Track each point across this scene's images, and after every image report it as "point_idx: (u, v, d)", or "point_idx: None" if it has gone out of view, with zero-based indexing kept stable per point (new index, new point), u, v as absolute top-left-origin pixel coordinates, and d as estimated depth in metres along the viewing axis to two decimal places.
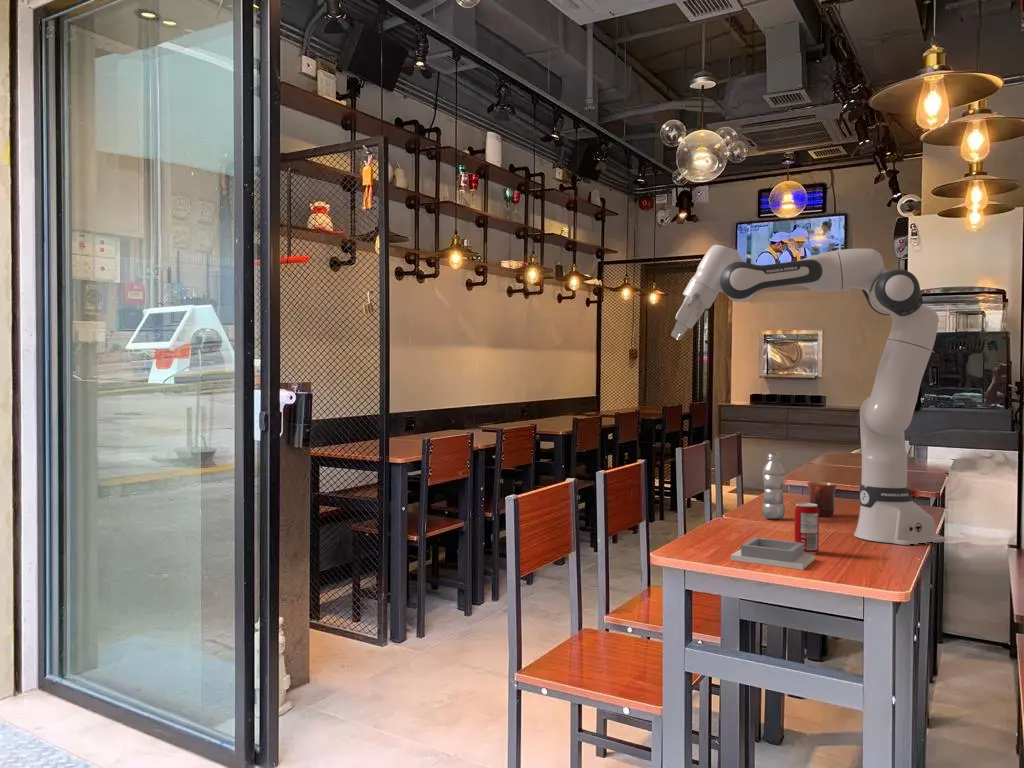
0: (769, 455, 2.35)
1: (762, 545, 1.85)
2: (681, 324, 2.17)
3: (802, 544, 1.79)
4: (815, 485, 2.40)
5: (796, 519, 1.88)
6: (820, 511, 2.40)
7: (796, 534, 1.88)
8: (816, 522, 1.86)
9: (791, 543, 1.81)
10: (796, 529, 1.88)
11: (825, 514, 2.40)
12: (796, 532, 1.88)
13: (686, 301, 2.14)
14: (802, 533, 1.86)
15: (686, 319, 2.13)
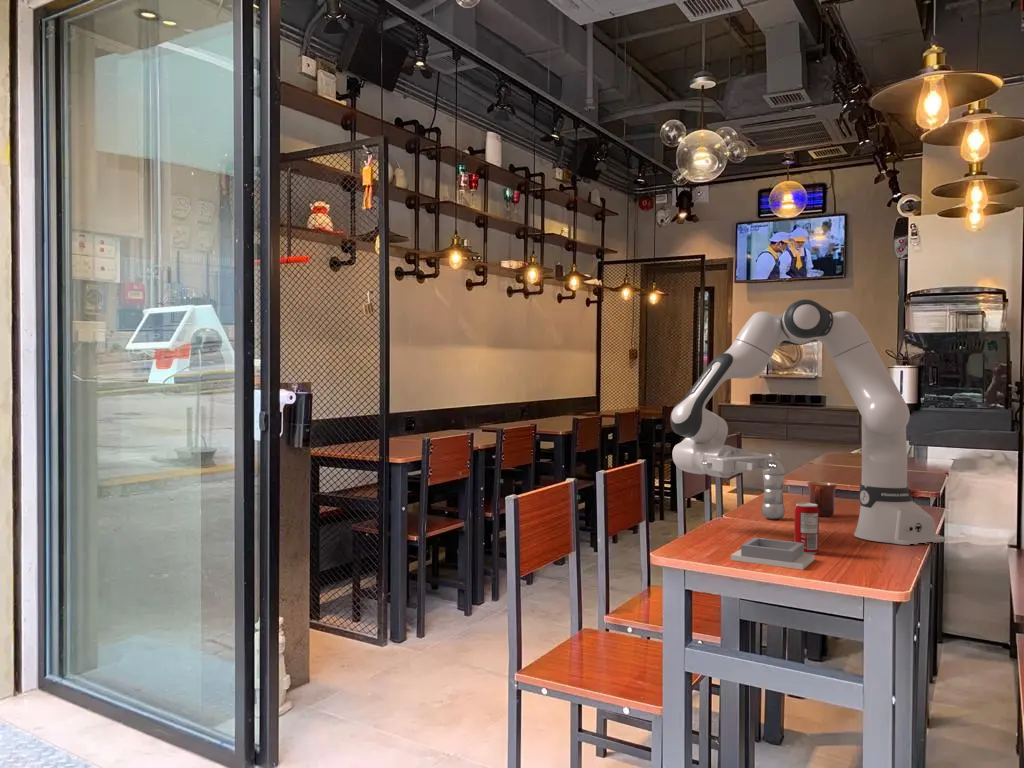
0: None
1: (762, 545, 1.85)
2: (736, 463, 1.98)
3: (802, 544, 1.79)
4: (815, 485, 2.40)
5: (796, 519, 1.88)
6: (820, 511, 2.40)
7: (796, 534, 1.88)
8: (816, 522, 1.86)
9: (791, 543, 1.81)
10: (796, 529, 1.88)
11: (825, 514, 2.40)
12: (796, 532, 1.88)
13: (709, 468, 2.01)
14: (802, 533, 1.86)
15: (721, 460, 1.97)
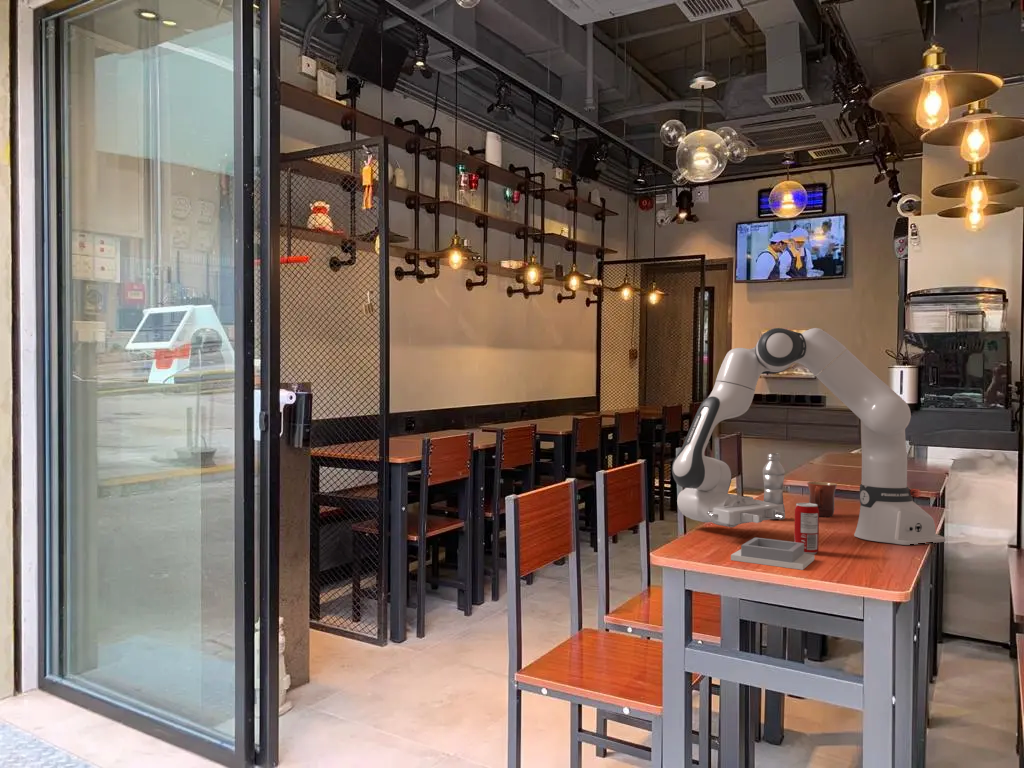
0: (769, 455, 2.35)
1: (762, 545, 1.85)
2: (742, 515, 1.96)
3: (802, 544, 1.79)
4: (815, 485, 2.40)
5: (796, 519, 1.88)
6: (820, 511, 2.40)
7: (796, 534, 1.88)
8: (816, 522, 1.86)
9: (791, 543, 1.81)
10: (796, 529, 1.88)
11: (825, 514, 2.40)
12: (796, 532, 1.88)
13: (715, 519, 1.99)
14: (802, 533, 1.86)
15: (727, 512, 1.96)
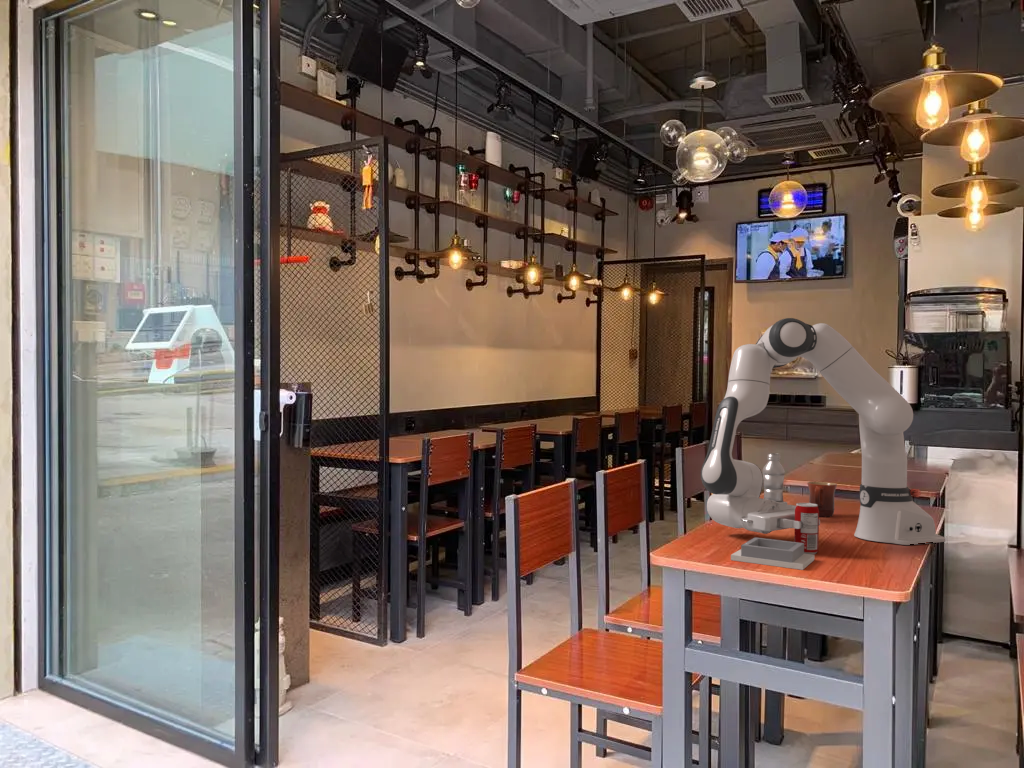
0: (769, 455, 2.35)
1: (762, 545, 1.85)
2: (781, 521, 1.88)
3: (802, 544, 1.79)
4: (815, 485, 2.40)
5: (796, 519, 1.88)
6: (820, 511, 2.40)
7: (796, 534, 1.88)
8: (816, 522, 1.86)
9: (791, 543, 1.81)
10: (796, 529, 1.88)
11: (825, 514, 2.40)
12: (796, 532, 1.88)
13: (750, 525, 1.90)
14: (802, 533, 1.86)
15: (763, 518, 1.87)
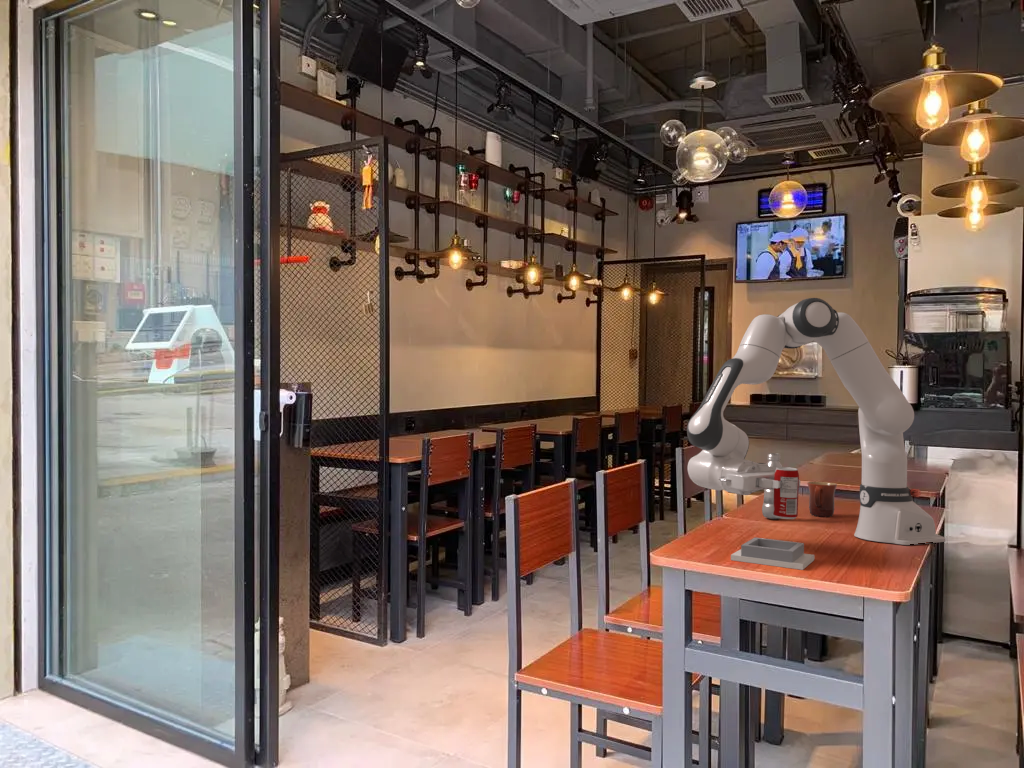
0: (769, 455, 2.35)
1: (762, 545, 1.85)
2: (760, 481, 1.83)
3: (802, 544, 1.79)
4: (815, 485, 2.40)
5: None
6: (820, 511, 2.40)
7: (775, 499, 1.83)
8: (796, 486, 1.81)
9: (791, 543, 1.81)
10: (775, 493, 1.83)
11: (825, 514, 2.40)
12: (775, 497, 1.83)
13: (728, 485, 1.86)
14: (781, 497, 1.81)
15: (742, 477, 1.82)
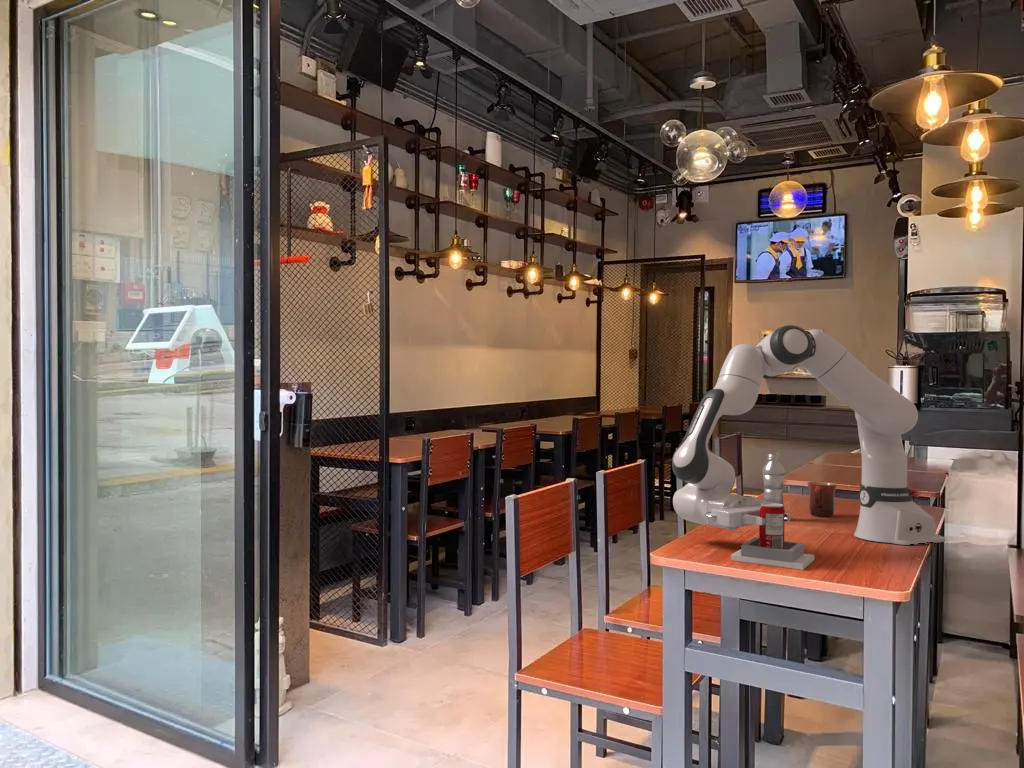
0: (769, 455, 2.35)
1: None
2: (743, 517, 1.78)
3: (802, 544, 1.79)
4: (815, 485, 2.40)
5: None
6: (820, 511, 2.40)
7: (761, 536, 1.78)
8: (782, 523, 1.77)
9: (791, 543, 1.81)
10: (761, 531, 1.78)
11: (825, 514, 2.40)
12: (761, 534, 1.78)
13: (714, 521, 1.81)
14: (767, 535, 1.77)
15: (727, 513, 1.77)
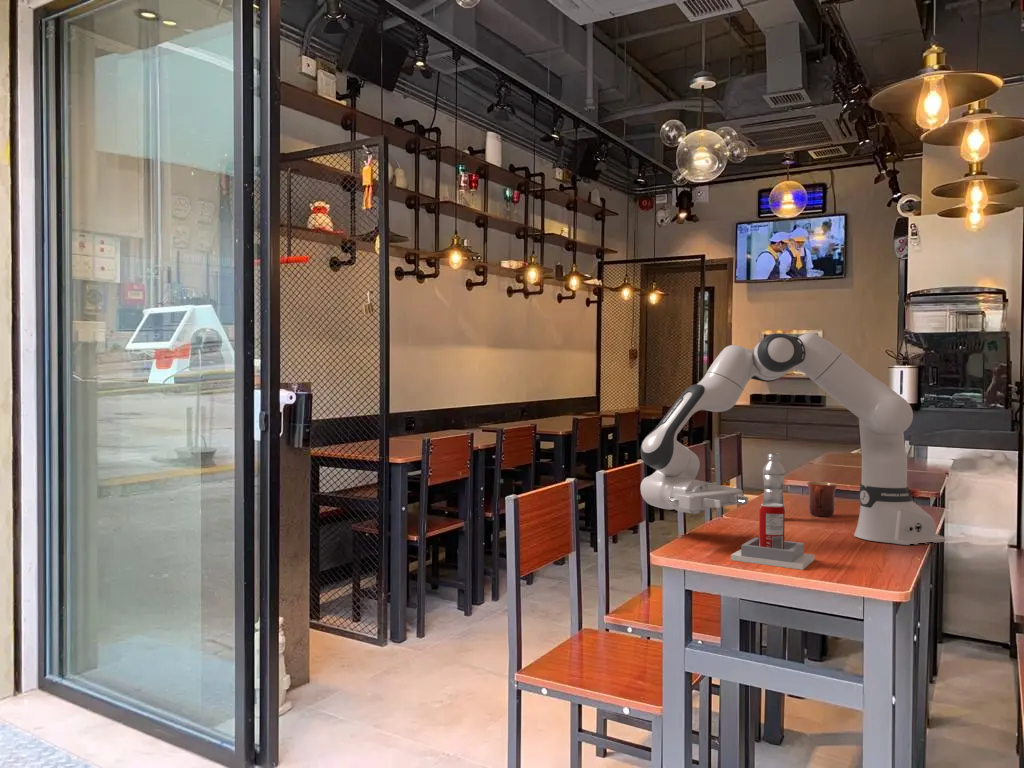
0: (769, 455, 2.35)
1: None
2: (703, 500, 1.89)
3: (802, 544, 1.79)
4: (815, 485, 2.40)
5: (761, 520, 1.78)
6: (820, 511, 2.40)
7: (761, 536, 1.78)
8: (782, 523, 1.77)
9: (791, 543, 1.81)
10: (761, 530, 1.78)
11: (825, 514, 2.40)
12: (761, 534, 1.78)
13: (676, 505, 1.93)
14: (767, 535, 1.77)
15: (688, 497, 1.89)
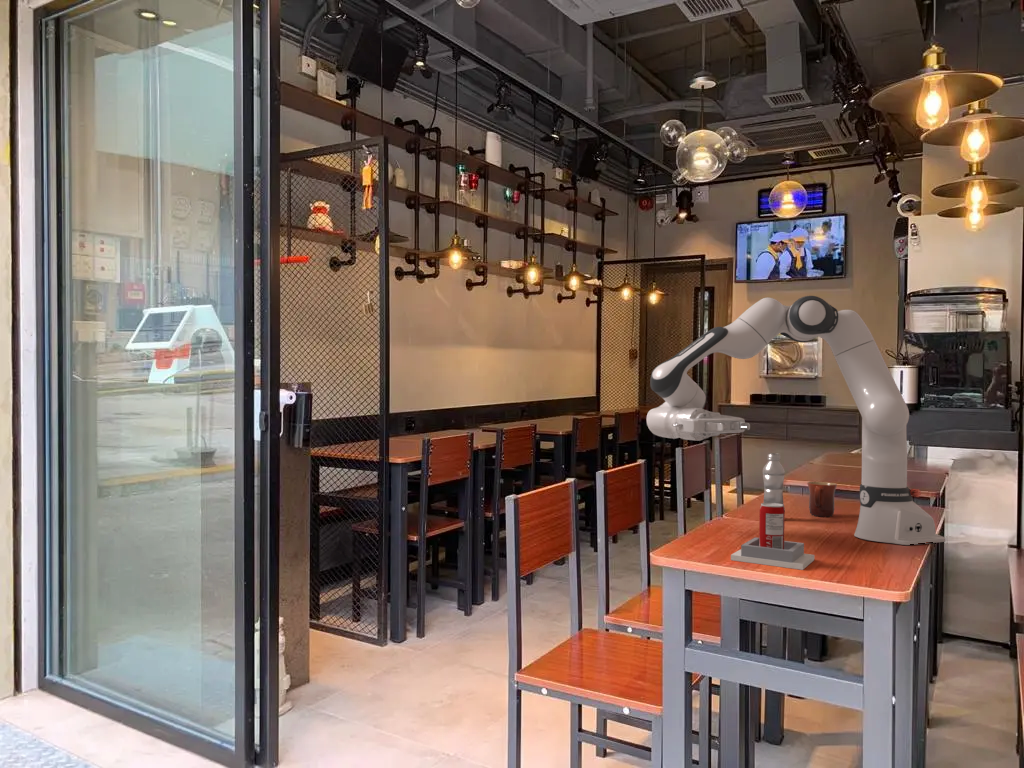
0: (769, 455, 2.35)
1: None
2: (706, 424, 1.97)
3: (802, 544, 1.79)
4: (815, 485, 2.40)
5: (761, 520, 1.78)
6: (820, 511, 2.40)
7: (761, 536, 1.78)
8: (782, 523, 1.77)
9: (791, 543, 1.81)
10: (761, 531, 1.78)
11: (825, 514, 2.40)
12: (761, 534, 1.78)
13: (680, 429, 2.01)
14: (767, 535, 1.77)
15: (692, 420, 1.97)
